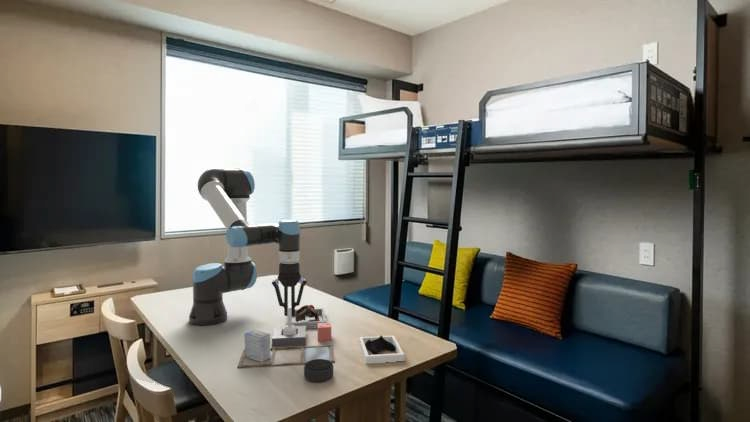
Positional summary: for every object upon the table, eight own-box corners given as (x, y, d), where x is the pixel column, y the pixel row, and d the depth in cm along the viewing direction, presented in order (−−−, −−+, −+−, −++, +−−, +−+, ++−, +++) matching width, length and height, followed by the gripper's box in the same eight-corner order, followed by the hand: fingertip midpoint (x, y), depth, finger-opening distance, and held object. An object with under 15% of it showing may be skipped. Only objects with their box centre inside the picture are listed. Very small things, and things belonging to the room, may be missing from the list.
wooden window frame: (237, 368, 134) (237, 366, 133) (243, 350, 147) (243, 349, 147) (334, 362, 139) (334, 361, 138) (332, 345, 152) (332, 344, 152)
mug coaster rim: (285, 329, 168) (285, 323, 168) (287, 315, 186) (287, 309, 186) (325, 327, 171) (325, 321, 171) (323, 313, 188) (323, 308, 188)
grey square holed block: (271, 346, 151) (271, 338, 151) (274, 334, 163) (274, 326, 162) (305, 345, 153) (305, 337, 153) (305, 333, 165) (305, 325, 164)
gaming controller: (391, 355, 151) (380, 339, 154) (397, 348, 149) (386, 332, 152) (370, 363, 143) (359, 346, 146) (377, 355, 141) (366, 338, 144)
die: (317, 340, 157) (317, 326, 156) (317, 335, 162) (317, 321, 161) (331, 340, 158) (331, 325, 157) (330, 335, 163) (330, 321, 162)
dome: (282, 341, 155) (282, 327, 154) (283, 336, 160) (283, 322, 159) (296, 340, 156) (296, 326, 155) (296, 336, 161) (296, 322, 160)
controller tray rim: (365, 363, 138) (365, 356, 137) (359, 343, 154) (359, 337, 154) (404, 361, 140) (404, 354, 140) (393, 342, 157) (393, 335, 156)
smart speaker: (311, 368, 134) (311, 356, 134) (337, 372, 132) (337, 360, 131) (299, 381, 126) (299, 368, 126) (326, 385, 123) (326, 372, 123)
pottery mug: (319, 327, 172) (309, 312, 170) (299, 335, 174) (289, 320, 172) (324, 311, 184) (314, 296, 181) (305, 319, 185) (296, 304, 183)
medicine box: (270, 358, 141) (270, 333, 140) (260, 363, 137) (260, 337, 137) (254, 353, 145) (254, 328, 145) (244, 357, 142) (244, 332, 141)
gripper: (270, 264, 151) (271, 328, 152) (307, 263, 153) (307, 326, 155) (272, 260, 158) (272, 321, 160) (307, 259, 160) (307, 319, 162)
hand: (289, 323), depth 157 cm, fingers closed
